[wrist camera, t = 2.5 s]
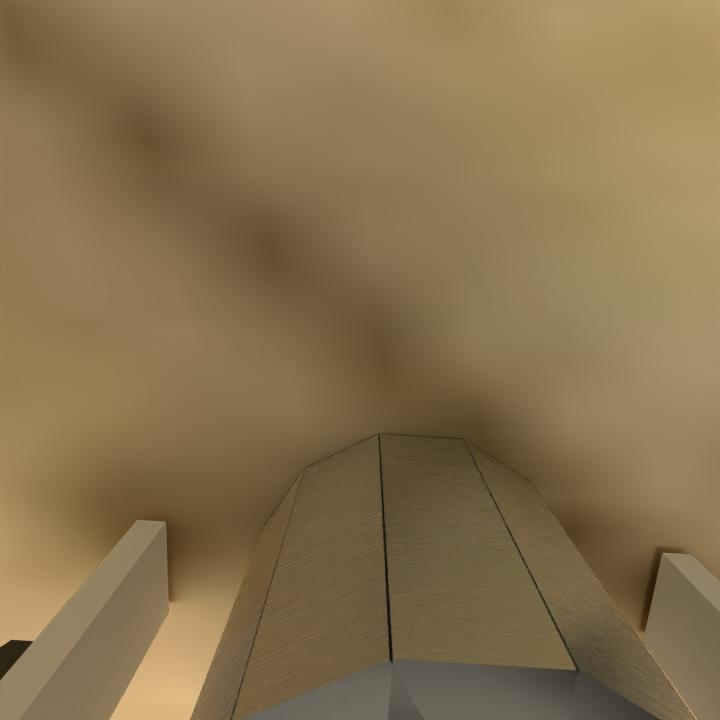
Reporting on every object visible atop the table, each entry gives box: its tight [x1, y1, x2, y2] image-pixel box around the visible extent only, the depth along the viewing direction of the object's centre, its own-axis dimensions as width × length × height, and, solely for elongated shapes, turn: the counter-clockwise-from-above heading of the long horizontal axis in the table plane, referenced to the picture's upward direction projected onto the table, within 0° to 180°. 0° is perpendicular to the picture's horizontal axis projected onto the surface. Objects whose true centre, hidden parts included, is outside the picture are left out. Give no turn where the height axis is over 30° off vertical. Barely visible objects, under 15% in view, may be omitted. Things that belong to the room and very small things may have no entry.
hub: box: [190, 434, 696, 720], centre depth 10 cm, size 8×8×7 cm
